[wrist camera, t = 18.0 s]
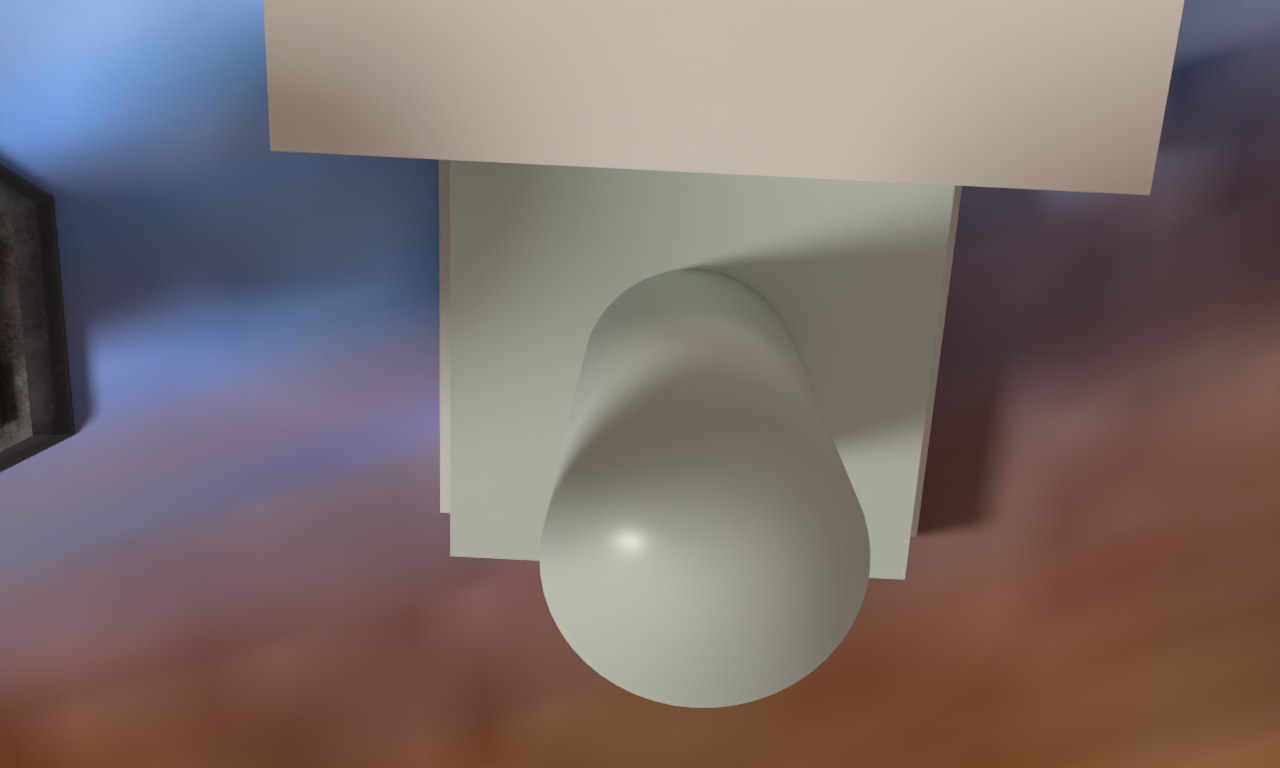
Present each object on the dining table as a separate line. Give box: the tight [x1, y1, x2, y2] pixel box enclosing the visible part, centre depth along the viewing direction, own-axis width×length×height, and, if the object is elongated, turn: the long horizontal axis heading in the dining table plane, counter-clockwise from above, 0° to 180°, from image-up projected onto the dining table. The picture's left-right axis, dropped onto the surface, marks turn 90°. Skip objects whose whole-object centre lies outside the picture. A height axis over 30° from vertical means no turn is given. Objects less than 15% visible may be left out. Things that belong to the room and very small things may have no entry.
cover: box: [450, 160, 955, 708], centre depth 18 cm, size 8×9×10 cm
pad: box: [439, 159, 962, 537], centre depth 23 cm, size 8×10×1 cm
